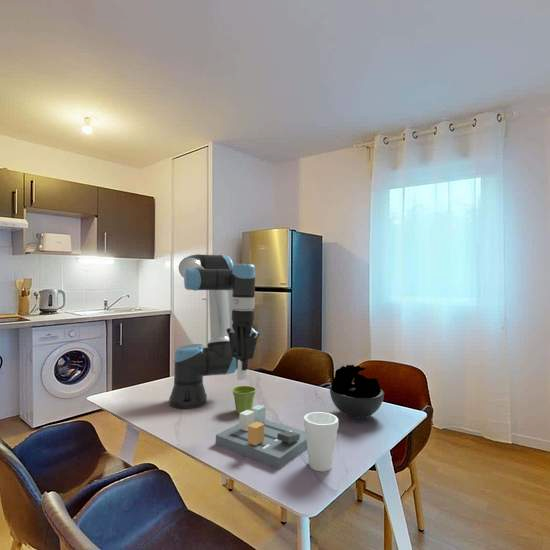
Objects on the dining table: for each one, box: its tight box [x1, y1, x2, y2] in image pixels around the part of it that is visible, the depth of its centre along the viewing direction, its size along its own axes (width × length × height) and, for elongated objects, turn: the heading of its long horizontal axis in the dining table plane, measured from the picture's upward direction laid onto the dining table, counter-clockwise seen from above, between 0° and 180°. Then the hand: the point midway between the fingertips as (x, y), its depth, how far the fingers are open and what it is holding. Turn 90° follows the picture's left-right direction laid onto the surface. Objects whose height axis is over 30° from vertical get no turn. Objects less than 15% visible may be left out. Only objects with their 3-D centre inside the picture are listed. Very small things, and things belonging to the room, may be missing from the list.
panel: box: [215, 419, 307, 470], centre depth 111 cm, size 24×19×4 cm
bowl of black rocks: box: [329, 364, 385, 419], centre depth 135 cm, size 20×20×19 cm
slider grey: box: [251, 404, 267, 423], centre depth 120 cm, size 3×4×5 cm
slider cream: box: [238, 410, 255, 431], centre depth 115 cm, size 3×4×5 cm
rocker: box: [277, 431, 300, 443], centre depth 106 cm, size 4×6×2 cm, turn 145°
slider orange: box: [248, 422, 264, 446], centre depth 105 cm, size 3×4×5 cm
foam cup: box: [303, 411, 339, 472], centre depth 99 cm, size 10×9×13 cm
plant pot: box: [231, 385, 257, 414], centre depth 139 cm, size 9×9×9 cm
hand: (241, 379), depth 121 cm, fingers closed
